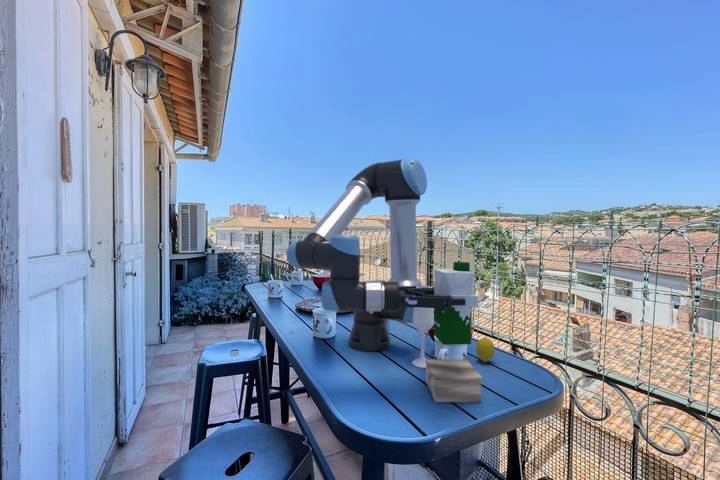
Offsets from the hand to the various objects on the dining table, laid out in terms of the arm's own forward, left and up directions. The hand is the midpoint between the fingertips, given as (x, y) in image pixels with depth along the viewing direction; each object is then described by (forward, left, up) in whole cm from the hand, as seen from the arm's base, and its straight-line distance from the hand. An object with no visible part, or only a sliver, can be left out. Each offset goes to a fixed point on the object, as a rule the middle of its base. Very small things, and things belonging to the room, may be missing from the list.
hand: (470, 297), depth 84 cm
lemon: (-19, +11, -24) cm, 33 cm away
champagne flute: (-18, -9, -24) cm, 32 cm away
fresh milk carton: (0, -5, -11) cm, 12 cm away
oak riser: (0, -5, -24) cm, 25 cm away
